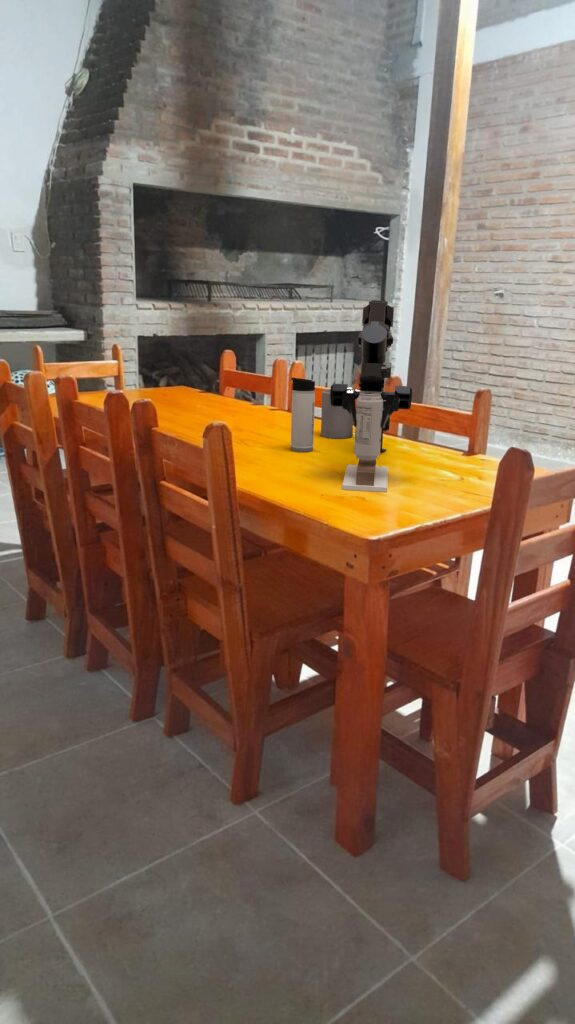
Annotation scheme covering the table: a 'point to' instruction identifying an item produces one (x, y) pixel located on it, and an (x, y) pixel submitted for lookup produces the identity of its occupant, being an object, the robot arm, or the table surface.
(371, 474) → the walnut ridge
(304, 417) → the travel mug
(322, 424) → the pillar candle
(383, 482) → the ridge base plate
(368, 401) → the energy drink can
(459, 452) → the table surface
